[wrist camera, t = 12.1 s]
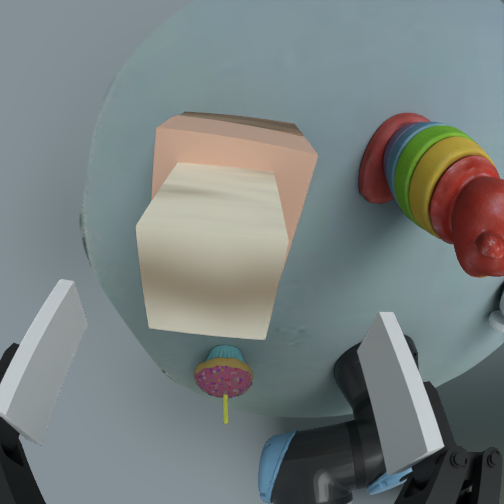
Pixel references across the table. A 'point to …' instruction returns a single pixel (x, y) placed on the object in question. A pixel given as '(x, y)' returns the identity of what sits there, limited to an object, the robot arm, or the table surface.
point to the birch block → (212, 251)
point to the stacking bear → (439, 187)
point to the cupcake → (224, 375)
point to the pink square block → (238, 157)
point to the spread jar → (498, 314)
